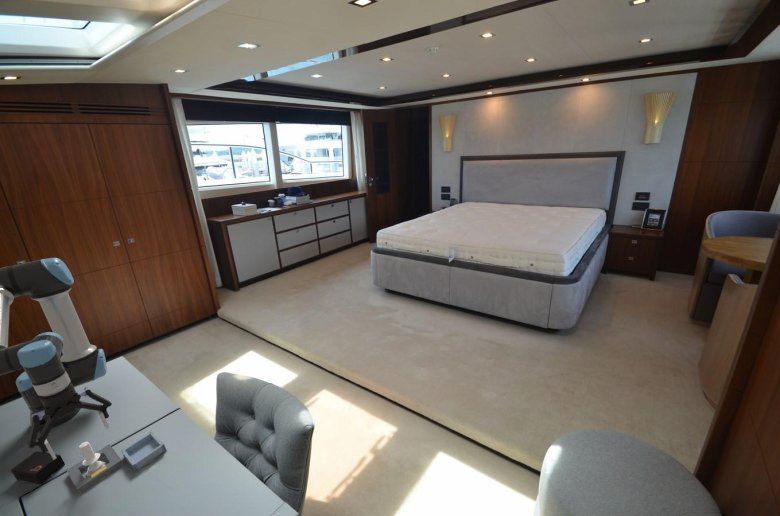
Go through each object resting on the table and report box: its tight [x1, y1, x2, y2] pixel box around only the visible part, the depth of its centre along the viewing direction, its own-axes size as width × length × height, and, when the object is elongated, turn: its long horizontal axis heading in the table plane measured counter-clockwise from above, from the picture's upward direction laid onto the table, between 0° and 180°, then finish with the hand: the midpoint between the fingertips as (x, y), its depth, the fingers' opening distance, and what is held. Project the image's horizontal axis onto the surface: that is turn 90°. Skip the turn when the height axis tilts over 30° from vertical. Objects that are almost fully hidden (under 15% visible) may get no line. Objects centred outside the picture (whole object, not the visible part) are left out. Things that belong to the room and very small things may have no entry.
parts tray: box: [121, 431, 167, 473], centre depth 119 cm, size 11×10×3 cm
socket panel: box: [66, 444, 124, 494], centre depth 114 cm, size 12×12×2 cm
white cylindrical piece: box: [78, 441, 107, 477], centre depth 113 cm, size 5×5×12 cm
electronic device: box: [10, 450, 66, 485], centre depth 114 cm, size 7×11×5 cm
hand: (81, 441), depth 110 cm, fingers open, 13 cm apart
